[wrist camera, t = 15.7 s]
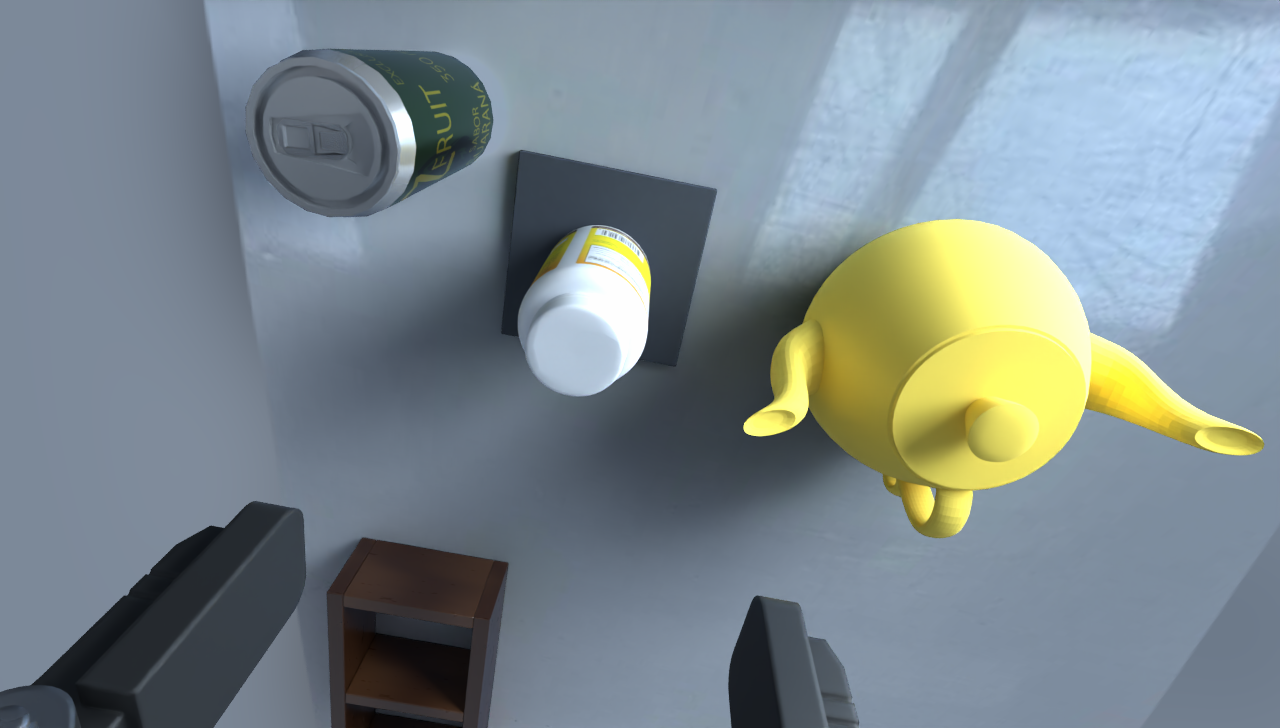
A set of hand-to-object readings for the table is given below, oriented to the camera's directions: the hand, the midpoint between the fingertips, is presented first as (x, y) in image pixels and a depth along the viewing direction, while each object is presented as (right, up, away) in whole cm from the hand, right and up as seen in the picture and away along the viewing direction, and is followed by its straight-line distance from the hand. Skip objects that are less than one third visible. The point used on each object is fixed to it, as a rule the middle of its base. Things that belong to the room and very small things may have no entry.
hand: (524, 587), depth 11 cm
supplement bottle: (0, +9, +23) cm, 25 cm away
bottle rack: (-14, -17, +36) cm, 42 cm away
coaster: (0, +9, +23) cm, 25 cm away
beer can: (-8, +16, +20) cm, 27 cm away
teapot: (+17, +5, +24) cm, 30 cm away
